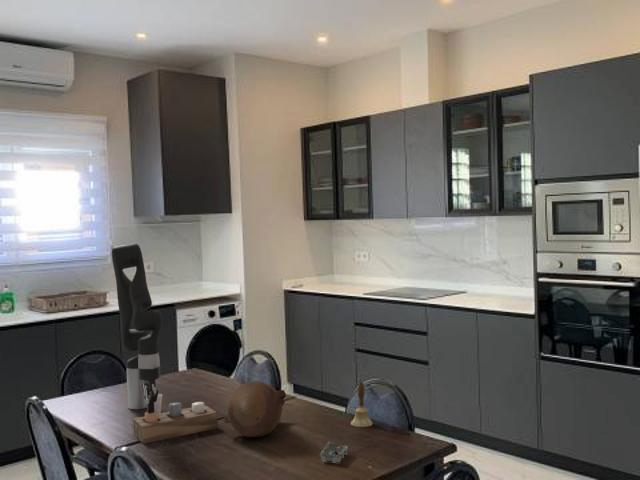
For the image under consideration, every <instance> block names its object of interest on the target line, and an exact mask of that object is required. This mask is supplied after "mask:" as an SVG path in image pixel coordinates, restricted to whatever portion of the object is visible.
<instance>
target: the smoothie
mask: <svg viewBox="0 0 640 480" xmlns="http://www.w3.org/2000/svg"><path fill="white" fill-rule="evenodd" d="M162 399H163V394H162V393H159V392H158V397H157V401H156V402H154V411H158V414H160V413H162V412H161V411H162Z"/></svg>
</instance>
